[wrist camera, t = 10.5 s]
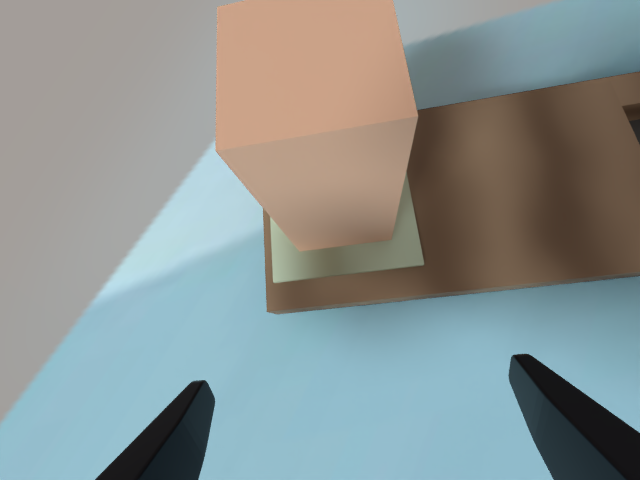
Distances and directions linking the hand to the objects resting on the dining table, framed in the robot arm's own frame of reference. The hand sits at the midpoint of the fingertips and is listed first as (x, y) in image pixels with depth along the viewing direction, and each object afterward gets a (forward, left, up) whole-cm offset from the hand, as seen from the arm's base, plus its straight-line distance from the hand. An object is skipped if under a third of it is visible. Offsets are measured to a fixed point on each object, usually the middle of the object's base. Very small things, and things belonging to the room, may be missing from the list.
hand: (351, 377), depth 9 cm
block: (+3, -8, -6) cm, 11 cm away
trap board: (-6, -11, -9) cm, 15 cm away
